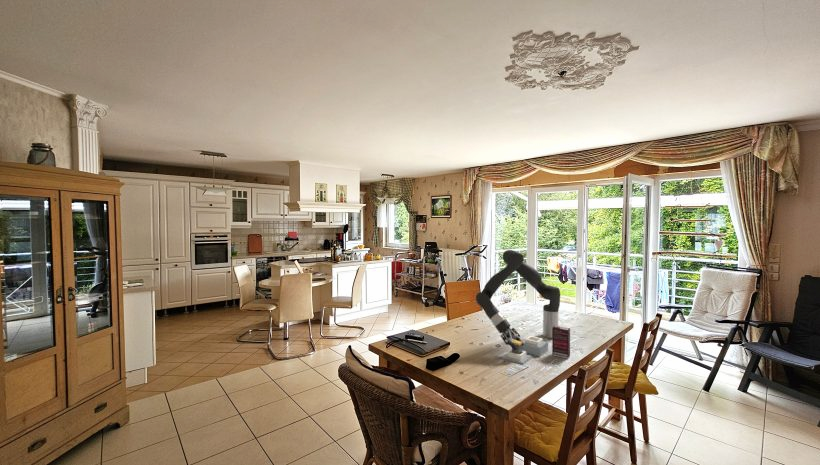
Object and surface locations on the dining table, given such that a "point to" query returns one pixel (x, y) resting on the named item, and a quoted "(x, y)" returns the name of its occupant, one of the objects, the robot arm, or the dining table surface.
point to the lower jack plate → (517, 357)
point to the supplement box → (561, 341)
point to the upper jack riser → (535, 346)
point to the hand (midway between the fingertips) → (519, 347)
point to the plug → (518, 345)
